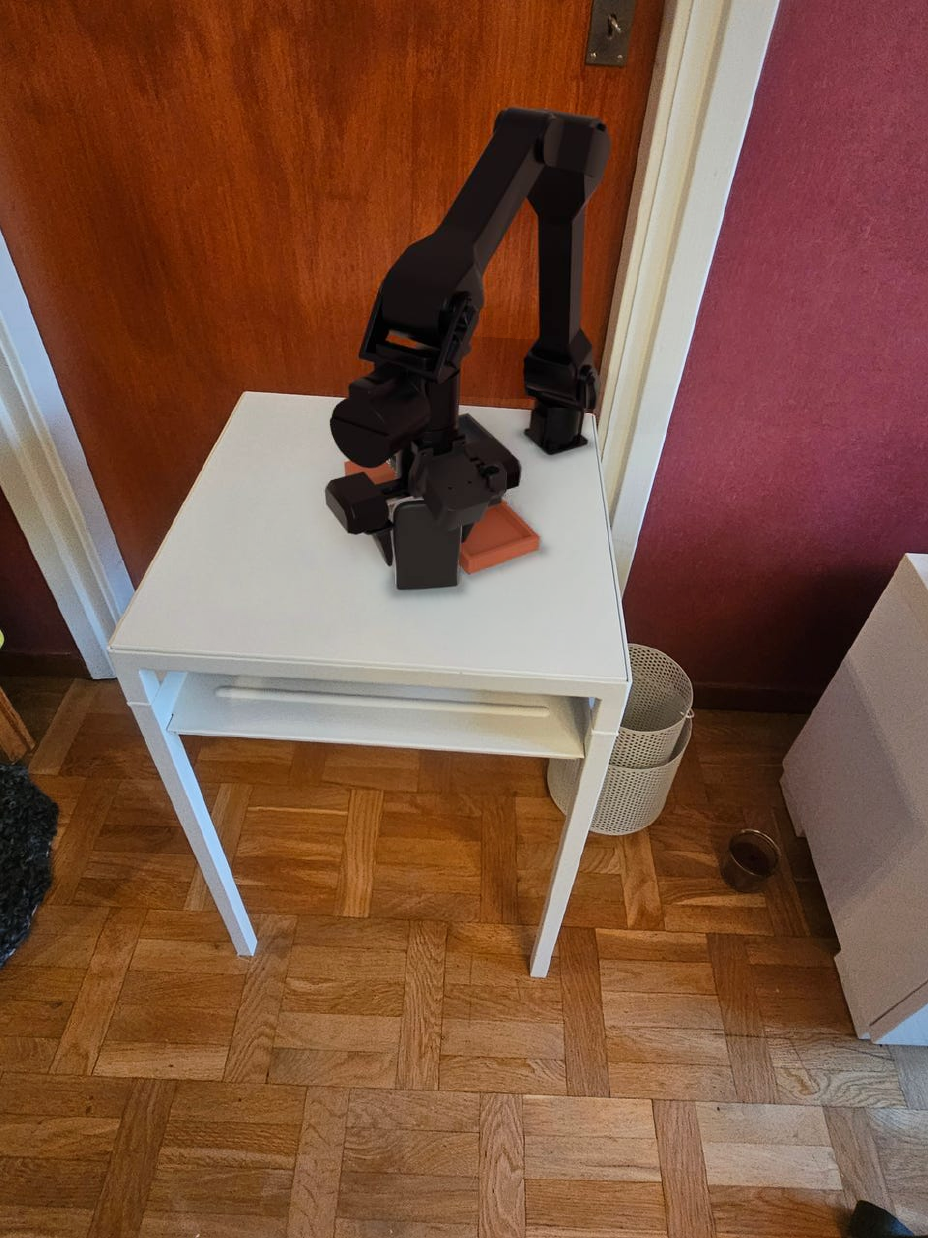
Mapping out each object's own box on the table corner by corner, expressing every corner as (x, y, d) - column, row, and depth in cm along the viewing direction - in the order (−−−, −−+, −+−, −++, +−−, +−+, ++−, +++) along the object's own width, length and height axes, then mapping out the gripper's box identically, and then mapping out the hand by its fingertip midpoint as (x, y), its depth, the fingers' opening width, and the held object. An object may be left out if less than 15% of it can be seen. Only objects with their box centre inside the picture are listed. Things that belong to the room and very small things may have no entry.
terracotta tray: (495, 506, 90) (496, 493, 89) (538, 549, 85) (540, 536, 83) (428, 528, 87) (428, 515, 85) (468, 574, 81) (469, 561, 80)
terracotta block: (380, 483, 93) (378, 452, 89) (396, 503, 90) (395, 471, 87) (346, 493, 91) (343, 461, 88) (362, 513, 88) (359, 481, 85)
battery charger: (455, 565, 82) (458, 478, 74) (460, 588, 80) (464, 501, 71) (392, 568, 81) (388, 481, 73) (394, 592, 79) (391, 504, 71)
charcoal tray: (467, 424, 103) (468, 412, 102) (510, 465, 97) (511, 452, 95) (401, 442, 100) (401, 429, 98) (441, 485, 93) (442, 472, 92)
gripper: (369, 487, 58) (377, 629, 69) (563, 434, 65) (542, 570, 76) (315, 422, 65) (330, 561, 76) (496, 380, 72) (486, 512, 83)
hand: (425, 551), depth 78 cm, fingers closed on battery charger, 8 cm apart
